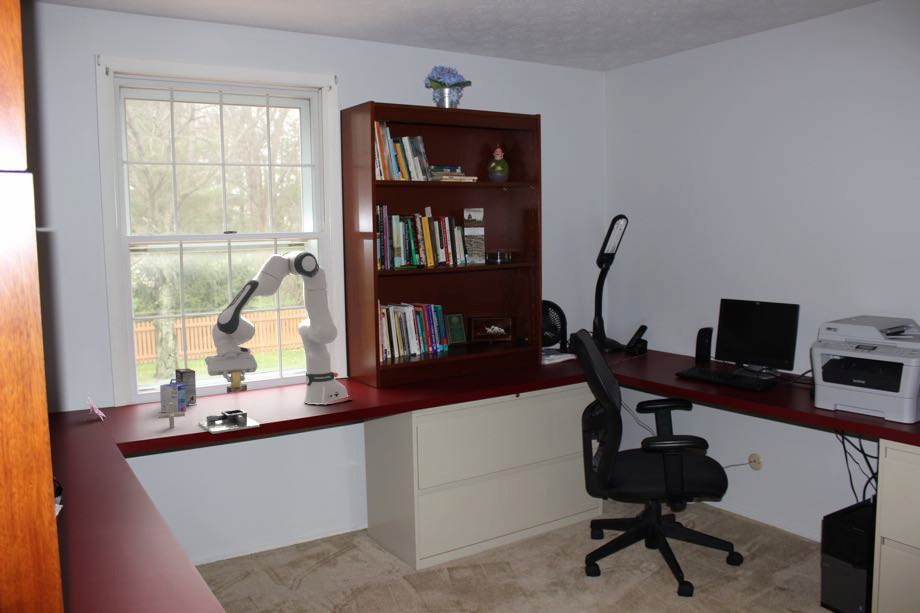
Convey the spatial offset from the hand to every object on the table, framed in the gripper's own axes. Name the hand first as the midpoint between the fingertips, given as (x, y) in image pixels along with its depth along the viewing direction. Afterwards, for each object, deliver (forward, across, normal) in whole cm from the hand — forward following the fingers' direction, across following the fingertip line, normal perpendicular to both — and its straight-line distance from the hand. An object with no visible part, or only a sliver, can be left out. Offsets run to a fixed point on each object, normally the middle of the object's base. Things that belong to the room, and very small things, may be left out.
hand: (236, 380), depth 307 cm
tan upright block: (+3, 0, +4) cm, 4 cm away
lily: (-15, -48, +42) cm, 65 cm away
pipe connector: (+8, -24, +18) cm, 31 cm away
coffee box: (-22, -8, +47) cm, 53 cm away
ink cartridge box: (-13, -17, +38) cm, 43 cm away
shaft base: (+16, -5, +9) cm, 19 cm away
